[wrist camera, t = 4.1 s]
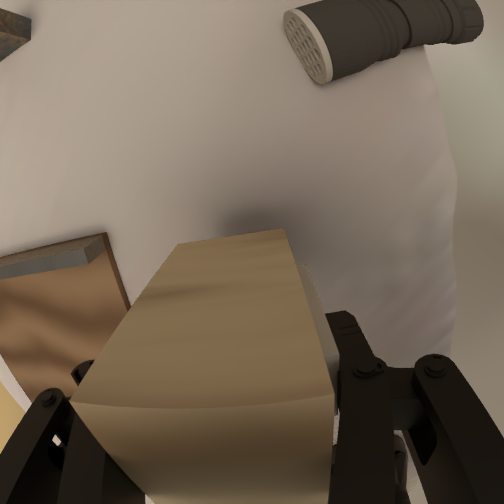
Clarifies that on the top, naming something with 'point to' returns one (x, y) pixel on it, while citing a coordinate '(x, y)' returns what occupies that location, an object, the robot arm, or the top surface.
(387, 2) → the flashlight
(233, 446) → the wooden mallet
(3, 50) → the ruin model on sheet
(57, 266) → the board
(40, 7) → the top surface
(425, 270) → the top surface
